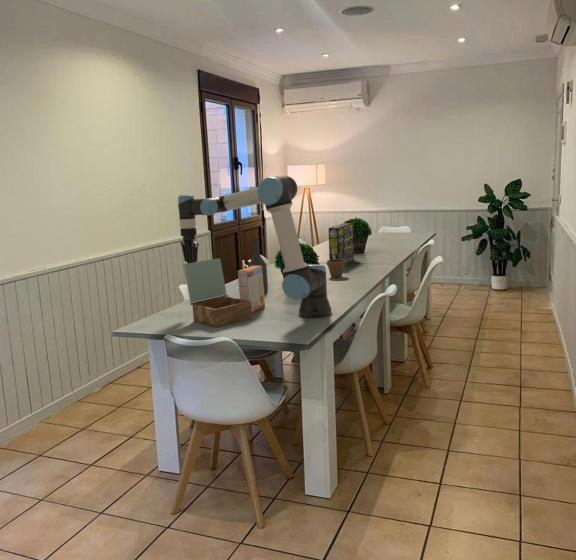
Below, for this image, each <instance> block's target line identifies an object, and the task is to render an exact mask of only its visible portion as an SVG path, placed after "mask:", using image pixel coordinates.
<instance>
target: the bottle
mask: <svg viewBox="0 0 576 560" xmlns="http://www.w3.org/2000/svg"><path fill="white" fill-rule="evenodd" d="M252 250H253V252H252V257H251V258H250V262H249V263H248V265H247V267H250V266H262V273H263V286H264V294H266V293H268V291H269V285H268V268H267V267H268V265H267V262H265V260H264V259H263V257H262V256H261V253H260V247H259V242H258V238H253V249H252Z"/></svg>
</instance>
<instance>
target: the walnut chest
mask: <svg viewBox="0 0 576 560" xmlns="http://www.w3.org/2000/svg"><path fill="white" fill-rule="evenodd" d="M190 305H191V306H192V313H193V314H192V315H193V322H195V323H199V324H203V325H206V326H209V327H214V328H221V327H223V326H228V325H232V324H235V323H239V322H243V321H247V320H250V319H252V318H253V313H252V309H251V301H248V300H243V299H240V298H238V297H233V296H229V294H227V295H222V296H218V297H213V298H209V299H204V300H200V301H195V302H190Z"/></svg>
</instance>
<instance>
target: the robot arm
mask: <svg viewBox="0 0 576 560" xmlns="http://www.w3.org/2000/svg"><path fill="white" fill-rule="evenodd" d="M298 190H299V189H298V184H297V182H296V181H295V179H293V177H291V176H288V175H273V176H267V177H265V178H263V179H262V180H261V181H260V182H259V184H258V186H257V187H254V188H249V189H244V190H241V191H237V192H233V193H230V194H224V195H222V196H217V197H208V198H197V199H196V198H195V196H194V194H183V195H182V194H181V195H179V196H178V198H177V206H178V215H179V217H178V219H179V228H180V230H179V231H180V236H181V237H182V241H180V242H179V243H180V245H181V249H182V250H181V251H182V254H183V260H184V262H186V264H189V263H194V262H198V251H199V245H200V244H199V242H197V241H196V238H195V236H197V234H198V233H197V228H196V226H197V225H196V222H197V220H196V216H214V215H215V214H221V213H226V212H228V211H232V210H238V209H241V208H246V207H251V206H255V205H259V204H263V205H264V206H265V210H266V212H268V213H270V215H271V219H272V222H273V225H274V230H275V234H276V237H277V240H278V245H279V249H280V252H281V253H280V254H281V257H282V260H283V264H284V269H283V270H282V273H283V277H284V278H283V281H282V283H281V287H282V291H283V292H284V294H285V296H287V298H290V299H291V300H294V301H298V300H300V304H299V308H298V315H299V316H300V317H303V318H311V319H312V318H314V319H315V318H322V317H326V316H330V315H331V314H332V312H333V311H332V307H331V304H330V300H329V299H328V291H327V290H328V288H327V285H328V284H327V269H326V268H327V267H326V266H325V265H324V264H309V263H306V262H305V260H304V256H303V252H302V249H301V245H300V241H299V236H298V233H297V231H296V225H295V222H294V218H293V213H292V212H291V211H292V209H291V208H292V206H293V200H294V199H295V198H296V196H297V193H298Z"/></svg>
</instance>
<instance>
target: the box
mask: <svg viewBox="0 0 576 560" xmlns="http://www.w3.org/2000/svg"><path fill="white" fill-rule="evenodd" d="M328 251H329V252H328V257H329V260H335V259H340V260H345V261H346V262H345V265H344V266H346V265H348V264H350V263H352V262H353V261H354V260H355V259H354V257H355V256H354V252H355V251H354V223H352V222H350V223H349V222H348V223H347V222H346V223H345V222H343V223H341V224H337V225H334V226H331V227H328ZM352 260H353V261H352ZM349 262H350V263H349ZM347 263H348V264H347Z"/></svg>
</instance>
